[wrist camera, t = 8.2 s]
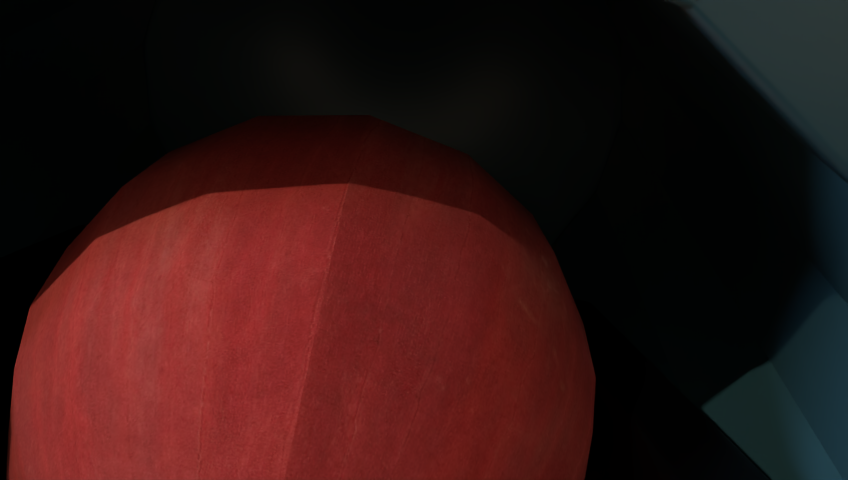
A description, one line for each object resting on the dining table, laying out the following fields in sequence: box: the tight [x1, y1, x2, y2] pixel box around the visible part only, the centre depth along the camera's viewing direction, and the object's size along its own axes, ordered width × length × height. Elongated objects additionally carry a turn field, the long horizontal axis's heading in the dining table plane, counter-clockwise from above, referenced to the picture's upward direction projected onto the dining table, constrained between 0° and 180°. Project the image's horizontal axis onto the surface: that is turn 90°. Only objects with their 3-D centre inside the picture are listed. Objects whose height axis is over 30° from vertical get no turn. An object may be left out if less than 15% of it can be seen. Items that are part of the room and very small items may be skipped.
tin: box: [0, 0, 848, 480], centre depth 10 cm, size 12×12×10 cm
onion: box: [6, 115, 596, 480], centre depth 7 cm, size 6×6×8 cm
